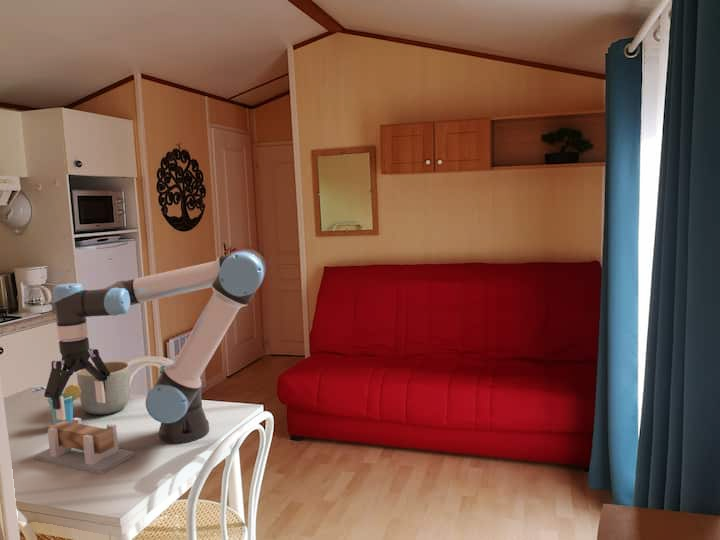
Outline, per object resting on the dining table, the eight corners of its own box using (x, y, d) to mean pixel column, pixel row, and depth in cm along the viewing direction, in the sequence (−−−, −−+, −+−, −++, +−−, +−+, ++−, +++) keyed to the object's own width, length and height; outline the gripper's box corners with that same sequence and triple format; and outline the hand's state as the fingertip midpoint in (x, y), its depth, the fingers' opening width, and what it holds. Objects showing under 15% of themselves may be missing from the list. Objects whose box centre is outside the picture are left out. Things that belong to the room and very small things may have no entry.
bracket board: (134, 455, 169) (131, 425, 168) (100, 474, 158) (97, 441, 157) (70, 442, 179) (67, 414, 178) (35, 459, 169) (31, 428, 167)
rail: (114, 446, 167) (112, 430, 166) (100, 453, 162) (98, 436, 161) (64, 436, 175) (63, 420, 174) (50, 443, 170) (48, 427, 170)
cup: (36, 437, 184) (32, 391, 182) (36, 429, 191) (31, 385, 189) (85, 427, 191) (81, 383, 189) (83, 420, 198) (79, 377, 196)
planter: (79, 407, 210) (75, 366, 208) (129, 398, 218) (125, 358, 216) (81, 422, 196) (77, 378, 194) (135, 412, 203) (131, 370, 201)
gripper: (99, 327, 177) (107, 394, 180) (23, 349, 154) (33, 425, 157) (117, 328, 174) (125, 397, 177) (42, 350, 151) (52, 428, 154)
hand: (82, 410), depth 167 cm, fingers open, 13 cm apart
